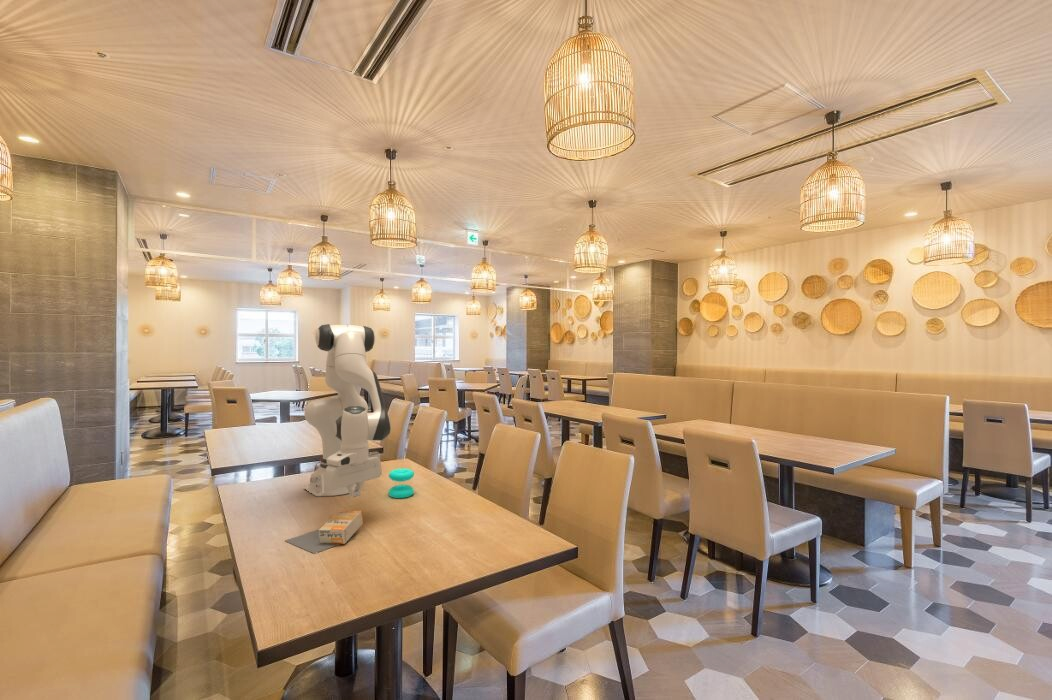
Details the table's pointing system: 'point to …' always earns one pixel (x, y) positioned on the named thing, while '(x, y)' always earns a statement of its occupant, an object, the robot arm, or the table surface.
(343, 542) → the supplement box
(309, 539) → the felt mat
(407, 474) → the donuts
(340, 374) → the robot arm
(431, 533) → the table surface
